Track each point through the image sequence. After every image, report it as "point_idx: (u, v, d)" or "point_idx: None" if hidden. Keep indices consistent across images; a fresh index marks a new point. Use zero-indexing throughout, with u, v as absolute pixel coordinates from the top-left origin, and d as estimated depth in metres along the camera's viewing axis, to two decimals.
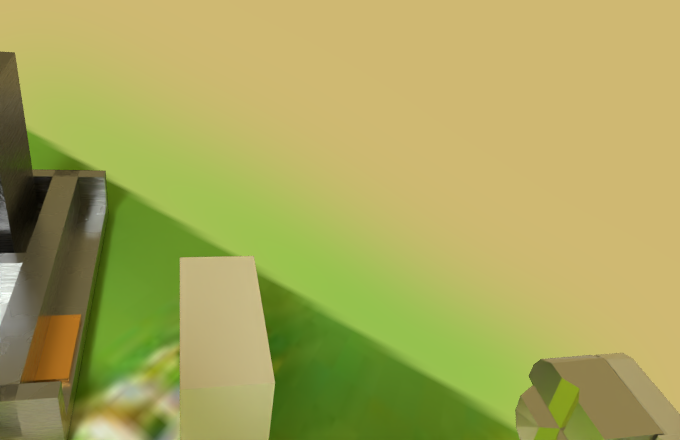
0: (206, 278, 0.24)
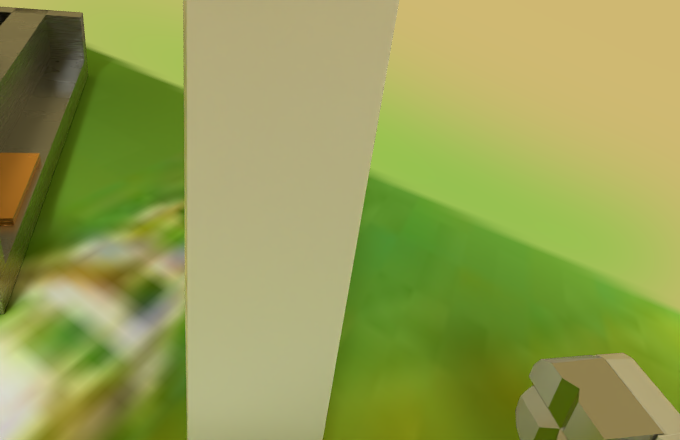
0: None
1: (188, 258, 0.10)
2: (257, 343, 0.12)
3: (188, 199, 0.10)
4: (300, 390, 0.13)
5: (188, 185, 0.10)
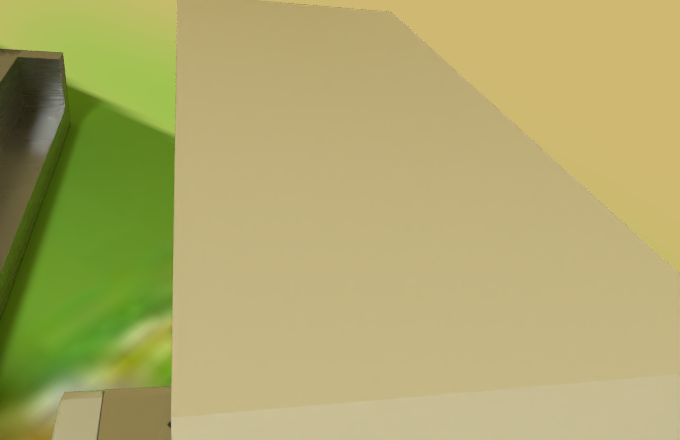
0: (265, 29, 0.07)
1: None
2: None
3: None
4: None
5: None
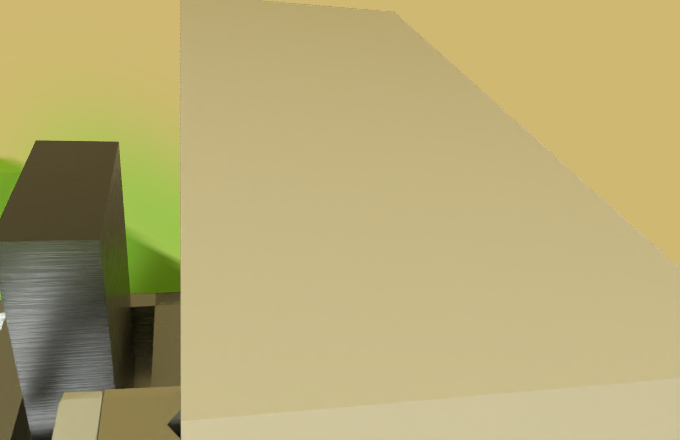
0: (269, 29, 0.07)
1: None
2: None
3: None
4: None
5: None
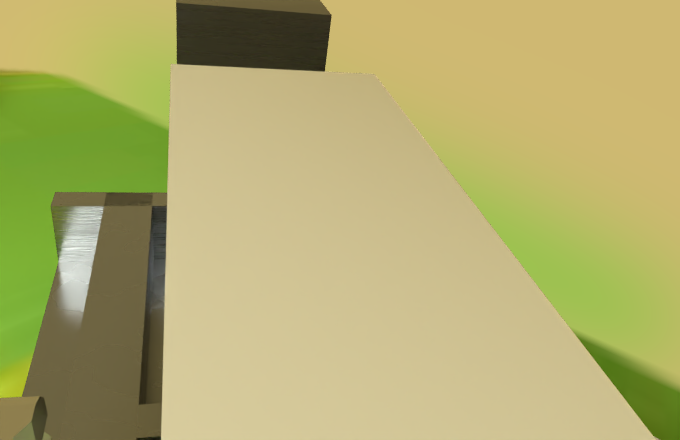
0: (253, 105, 0.08)
1: None
2: None
3: None
4: None
5: None
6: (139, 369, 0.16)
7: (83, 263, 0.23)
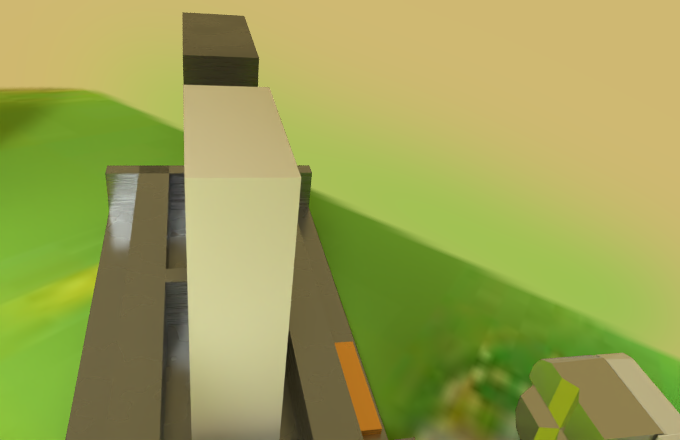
0: (214, 100, 0.20)
1: (189, 316, 0.18)
2: (233, 365, 0.19)
3: (188, 284, 0.17)
4: (262, 394, 0.20)
5: (188, 276, 0.17)
6: (165, 254, 0.29)
7: (125, 212, 0.36)
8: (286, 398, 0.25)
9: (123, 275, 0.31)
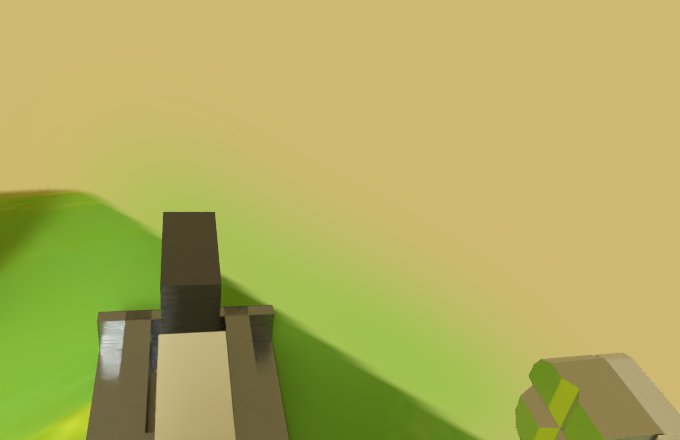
0: (181, 355, 0.27)
1: None
2: None
3: None
4: None
5: None
6: (145, 416, 0.35)
7: (113, 349, 0.42)
8: None
9: (110, 422, 0.37)
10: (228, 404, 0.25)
